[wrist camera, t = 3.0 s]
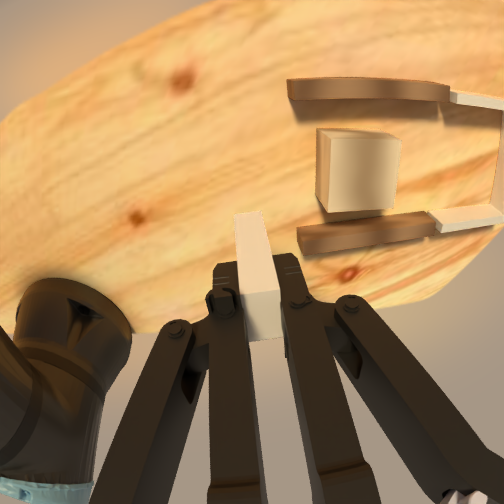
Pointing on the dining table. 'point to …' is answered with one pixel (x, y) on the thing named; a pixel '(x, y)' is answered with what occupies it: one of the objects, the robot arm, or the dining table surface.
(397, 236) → the slot rails
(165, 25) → the dining table surface
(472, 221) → the corral
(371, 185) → the beige square block
